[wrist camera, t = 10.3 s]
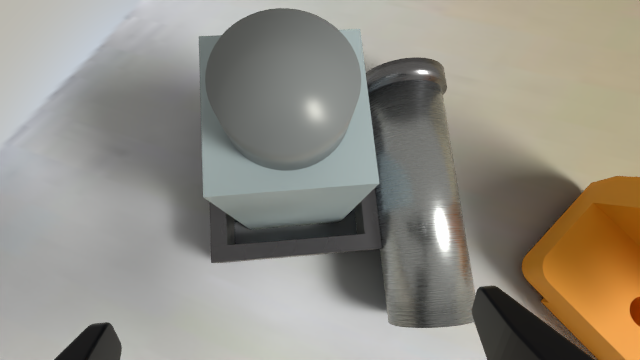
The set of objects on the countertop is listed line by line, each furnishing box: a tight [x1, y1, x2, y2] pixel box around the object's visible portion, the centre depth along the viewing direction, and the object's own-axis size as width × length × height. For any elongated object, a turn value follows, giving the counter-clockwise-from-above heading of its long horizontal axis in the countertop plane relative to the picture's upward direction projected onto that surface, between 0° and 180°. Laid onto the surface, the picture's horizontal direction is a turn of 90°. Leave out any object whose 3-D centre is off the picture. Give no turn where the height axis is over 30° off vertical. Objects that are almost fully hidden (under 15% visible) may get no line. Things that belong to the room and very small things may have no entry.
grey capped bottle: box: [199, 8, 379, 229], centre depth 16 cm, size 5×5×13 cm
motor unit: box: [210, 58, 475, 328], centre depth 20 cm, size 13×13×5 cm
